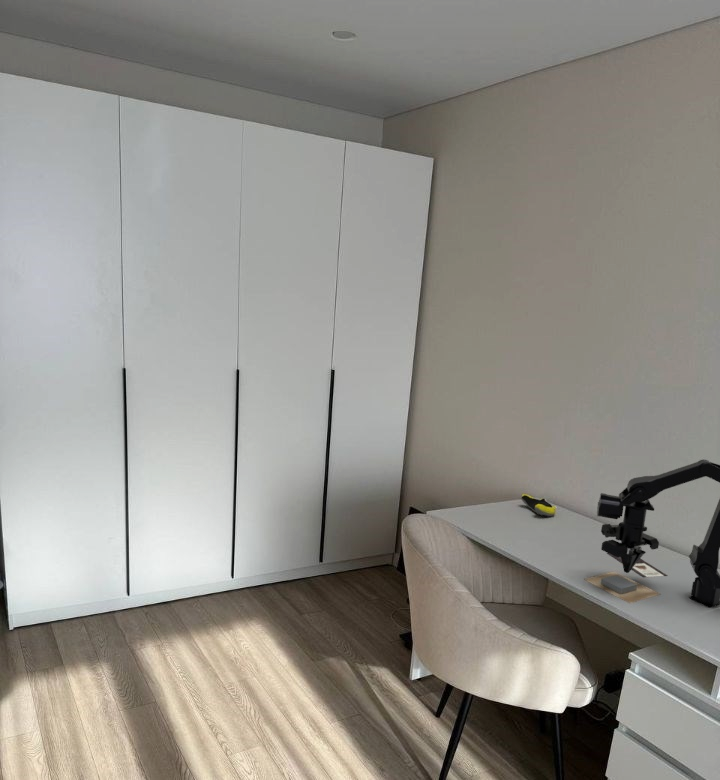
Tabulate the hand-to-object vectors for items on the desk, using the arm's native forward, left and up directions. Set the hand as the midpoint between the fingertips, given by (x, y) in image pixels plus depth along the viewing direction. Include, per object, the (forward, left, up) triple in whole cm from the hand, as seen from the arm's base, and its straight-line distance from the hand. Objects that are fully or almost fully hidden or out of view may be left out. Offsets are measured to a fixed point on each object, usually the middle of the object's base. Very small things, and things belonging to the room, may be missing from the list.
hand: (626, 572), depth 191 cm
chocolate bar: (+9, -18, -5) cm, 20 cm away
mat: (0, +1, -5) cm, 5 cm away
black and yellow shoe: (+58, -25, -5) cm, 64 cm away
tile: (0, -1, -3) cm, 3 cm away
